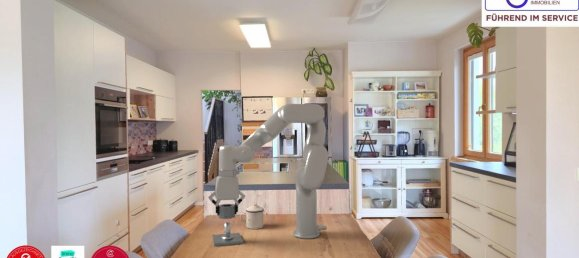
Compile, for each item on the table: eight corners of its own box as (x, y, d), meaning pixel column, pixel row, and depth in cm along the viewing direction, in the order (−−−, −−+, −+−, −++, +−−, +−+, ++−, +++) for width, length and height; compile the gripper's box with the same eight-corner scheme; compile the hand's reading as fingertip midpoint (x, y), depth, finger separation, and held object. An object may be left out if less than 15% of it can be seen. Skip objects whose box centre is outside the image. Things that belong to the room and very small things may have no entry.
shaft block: (239, 235, 152) (239, 218, 152) (243, 243, 140) (243, 225, 140) (212, 237, 148) (212, 220, 148) (214, 246, 137) (214, 227, 137)
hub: (233, 214, 148) (233, 203, 149) (235, 218, 142) (235, 206, 142) (218, 215, 146) (218, 204, 147) (219, 219, 140) (219, 207, 140)
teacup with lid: (264, 224, 170) (264, 201, 170) (263, 229, 161) (263, 205, 161) (240, 224, 170) (240, 201, 170) (239, 229, 161) (239, 205, 161)
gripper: (245, 172, 151) (245, 211, 150) (206, 173, 146) (206, 213, 145) (248, 174, 143) (247, 215, 143) (207, 175, 139) (206, 217, 138)
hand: (226, 214), depth 144 cm, fingers closed on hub, 6 cm apart
